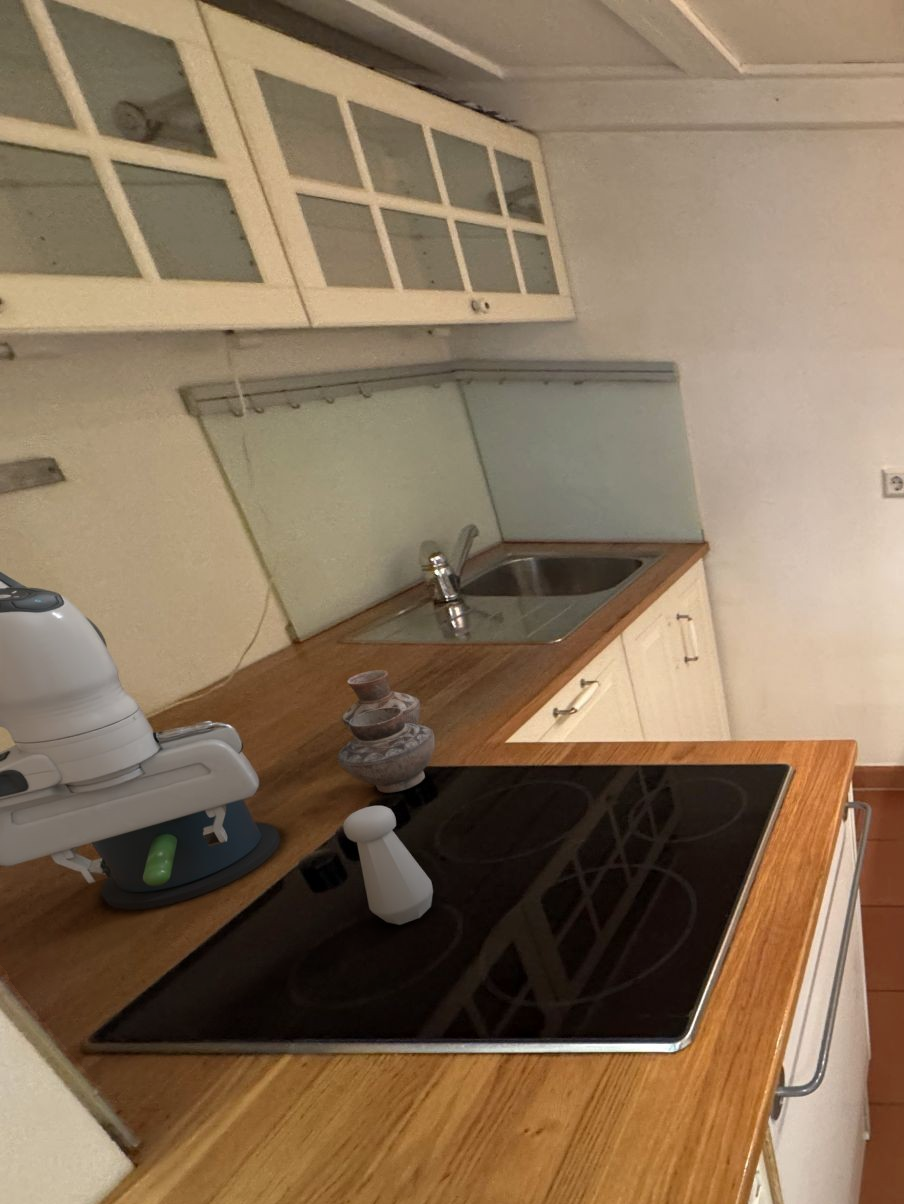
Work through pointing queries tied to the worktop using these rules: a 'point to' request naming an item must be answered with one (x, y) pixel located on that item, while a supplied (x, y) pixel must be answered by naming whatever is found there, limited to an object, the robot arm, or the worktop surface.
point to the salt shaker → (388, 867)
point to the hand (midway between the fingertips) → (161, 859)
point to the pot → (177, 850)
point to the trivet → (198, 887)
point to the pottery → (385, 735)
